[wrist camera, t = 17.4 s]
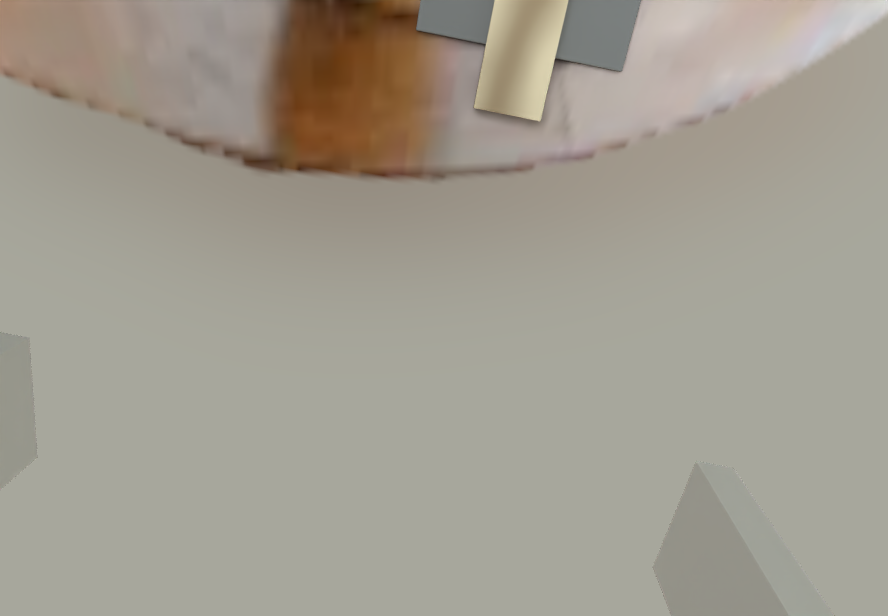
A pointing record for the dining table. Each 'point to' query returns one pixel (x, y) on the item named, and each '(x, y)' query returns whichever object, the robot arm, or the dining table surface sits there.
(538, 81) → the block
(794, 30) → the dining table surface
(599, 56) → the mat
